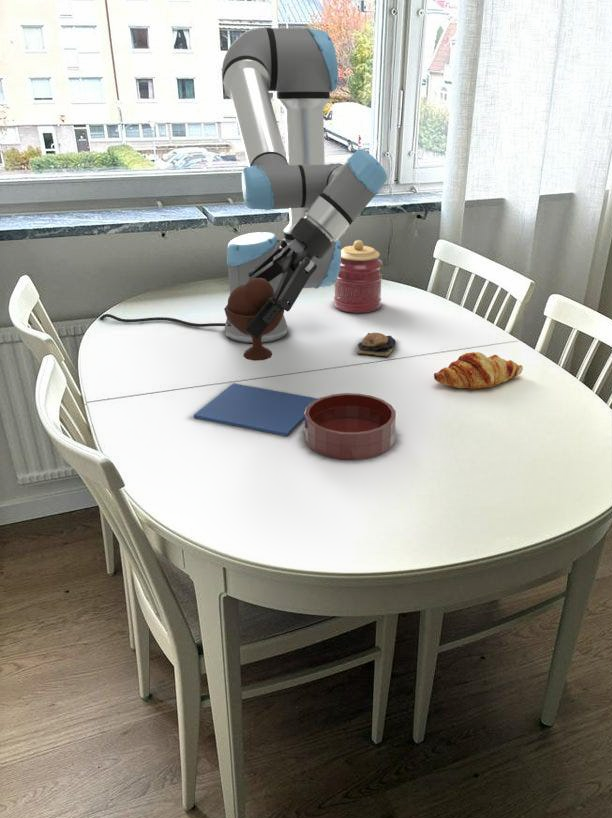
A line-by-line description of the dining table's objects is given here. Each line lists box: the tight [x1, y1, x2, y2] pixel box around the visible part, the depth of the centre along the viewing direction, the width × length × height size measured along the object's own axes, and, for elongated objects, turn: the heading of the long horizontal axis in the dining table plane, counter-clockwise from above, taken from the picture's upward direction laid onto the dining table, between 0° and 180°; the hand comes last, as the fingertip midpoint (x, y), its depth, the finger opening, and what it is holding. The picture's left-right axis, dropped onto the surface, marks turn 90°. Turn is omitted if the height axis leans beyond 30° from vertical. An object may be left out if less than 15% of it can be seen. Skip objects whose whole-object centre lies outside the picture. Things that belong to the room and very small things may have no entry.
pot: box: [304, 392, 397, 461], centre depth 134 cm, size 17×17×5 cm
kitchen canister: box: [333, 239, 383, 314], centre depth 195 cm, size 13×13×18 cm
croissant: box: [433, 351, 524, 390], centre depth 157 cm, size 21×10×8 cm, turn 110°
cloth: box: [193, 383, 318, 437], centre depth 145 cm, size 20×16×1 cm
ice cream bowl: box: [223, 278, 285, 362], centre depth 135 cm, size 11×11×15 cm
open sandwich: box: [357, 332, 397, 358], centre depth 173 cm, size 11×8×4 cm
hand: (241, 323), depth 134 cm, fingers closed on ice cream bowl, 11 cm apart
